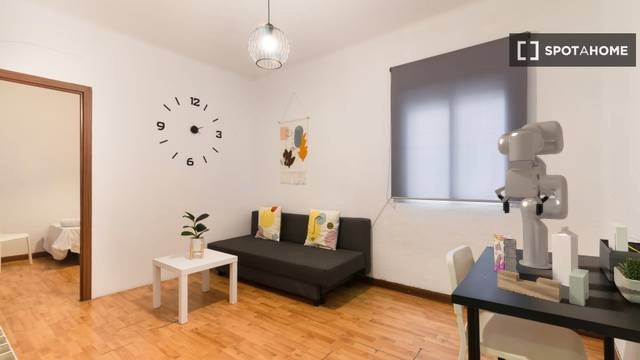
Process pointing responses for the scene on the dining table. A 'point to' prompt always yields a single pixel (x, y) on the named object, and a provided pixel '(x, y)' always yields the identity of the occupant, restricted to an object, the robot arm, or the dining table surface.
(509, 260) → the candy bar box
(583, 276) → the pale green rectangular block
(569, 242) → the milk
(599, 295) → the dining table surface
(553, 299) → the oak rail
